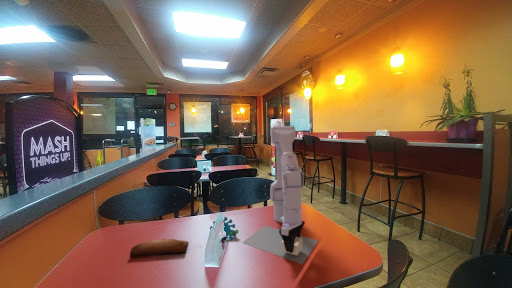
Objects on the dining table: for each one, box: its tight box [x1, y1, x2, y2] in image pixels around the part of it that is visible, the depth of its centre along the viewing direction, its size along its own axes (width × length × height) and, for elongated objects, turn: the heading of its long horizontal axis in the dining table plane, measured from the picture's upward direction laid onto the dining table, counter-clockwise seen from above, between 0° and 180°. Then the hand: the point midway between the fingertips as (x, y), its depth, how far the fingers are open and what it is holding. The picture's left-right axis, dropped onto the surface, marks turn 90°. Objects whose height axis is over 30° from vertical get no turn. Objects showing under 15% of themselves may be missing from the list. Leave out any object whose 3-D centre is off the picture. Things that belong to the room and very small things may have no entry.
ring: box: [281, 237, 302, 255], centre depth 68 cm, size 5×5×3 cm
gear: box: [209, 216, 240, 241], centre depth 80 cm, size 11×6×10 cm
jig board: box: [241, 225, 319, 265], centre depth 75 cm, size 16×23×1 cm
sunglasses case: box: [129, 238, 190, 258], centre depth 72 cm, size 18×7×7 cm
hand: (292, 247), depth 68 cm, fingers closed on ring, 5 cm apart
